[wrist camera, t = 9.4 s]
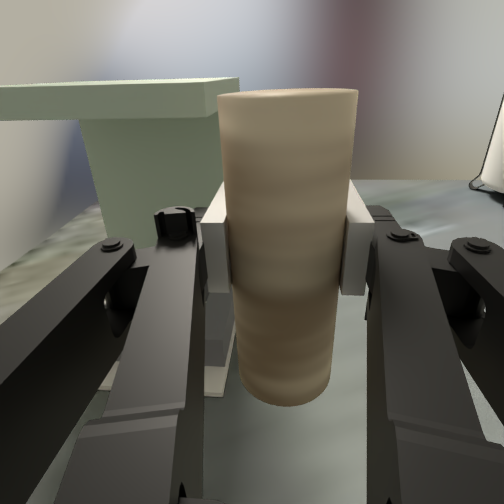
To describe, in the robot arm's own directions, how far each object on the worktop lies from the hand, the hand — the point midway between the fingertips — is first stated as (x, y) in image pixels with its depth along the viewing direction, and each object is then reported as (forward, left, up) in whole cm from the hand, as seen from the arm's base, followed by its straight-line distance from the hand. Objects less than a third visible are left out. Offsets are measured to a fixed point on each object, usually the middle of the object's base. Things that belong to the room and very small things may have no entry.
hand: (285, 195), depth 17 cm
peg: (-5, +3, -6) cm, 8 cm away
